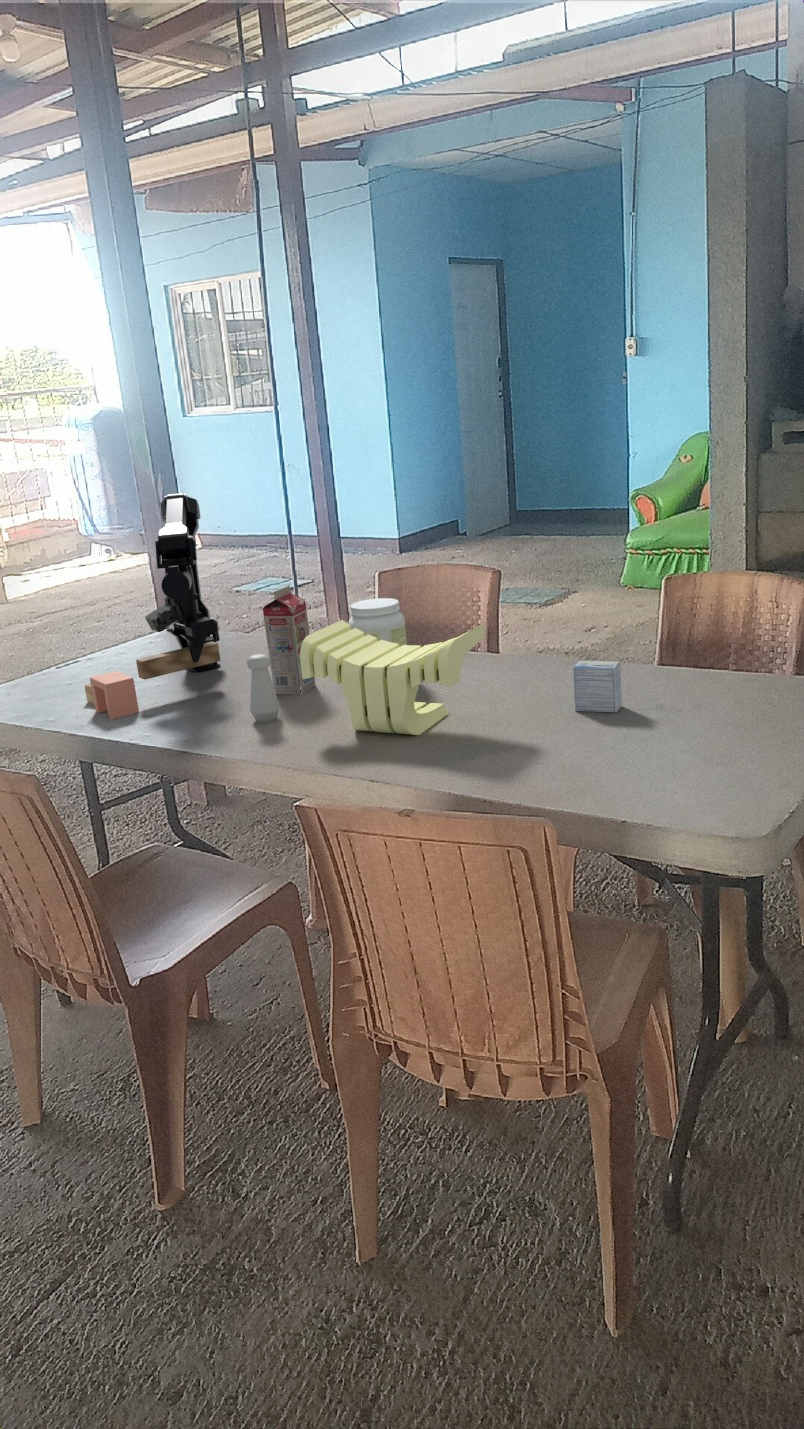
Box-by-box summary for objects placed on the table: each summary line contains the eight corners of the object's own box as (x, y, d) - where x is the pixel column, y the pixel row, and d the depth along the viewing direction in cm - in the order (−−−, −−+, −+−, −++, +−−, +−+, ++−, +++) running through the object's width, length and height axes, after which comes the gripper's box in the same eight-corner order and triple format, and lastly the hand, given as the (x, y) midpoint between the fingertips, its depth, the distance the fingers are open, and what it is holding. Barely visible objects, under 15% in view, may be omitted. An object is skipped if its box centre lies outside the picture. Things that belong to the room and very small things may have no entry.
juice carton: (273, 693, 229) (260, 592, 223) (288, 684, 235) (275, 585, 229) (301, 694, 227) (288, 591, 220) (315, 685, 233) (303, 585, 226)
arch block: (122, 704, 232) (116, 670, 230) (139, 712, 225) (133, 677, 223) (95, 711, 229) (89, 677, 227) (111, 719, 222) (105, 684, 220)
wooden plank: (214, 658, 240) (211, 641, 239) (220, 660, 238) (217, 643, 237) (139, 677, 230) (135, 659, 229) (144, 679, 228) (141, 661, 227)
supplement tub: (398, 669, 239) (391, 594, 234) (418, 681, 228) (411, 603, 223) (346, 678, 236) (338, 603, 231) (364, 691, 225) (356, 612, 220)
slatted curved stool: (309, 732, 202) (297, 640, 196) (351, 706, 215) (341, 619, 210) (454, 744, 188) (446, 645, 182) (490, 716, 201) (483, 623, 196)
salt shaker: (285, 715, 214) (277, 651, 210) (273, 724, 208) (264, 659, 205) (259, 714, 216) (250, 651, 212) (246, 723, 210) (237, 659, 207)
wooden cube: (101, 697, 240) (98, 680, 239) (113, 699, 238) (110, 681, 236) (87, 702, 237) (84, 685, 236) (99, 704, 235) (96, 686, 233)
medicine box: (622, 706, 199) (621, 661, 197) (616, 713, 196) (615, 667, 193) (581, 704, 203) (579, 660, 200) (574, 711, 199) (572, 666, 196)
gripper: (129, 593, 234) (141, 662, 238) (165, 602, 219) (177, 676, 224) (176, 584, 240) (186, 651, 244) (214, 592, 225) (225, 664, 230)
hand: (192, 661), depth 235 cm, fingers closed on wooden plank, 3 cm apart
